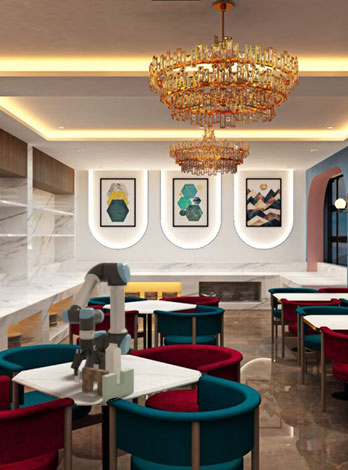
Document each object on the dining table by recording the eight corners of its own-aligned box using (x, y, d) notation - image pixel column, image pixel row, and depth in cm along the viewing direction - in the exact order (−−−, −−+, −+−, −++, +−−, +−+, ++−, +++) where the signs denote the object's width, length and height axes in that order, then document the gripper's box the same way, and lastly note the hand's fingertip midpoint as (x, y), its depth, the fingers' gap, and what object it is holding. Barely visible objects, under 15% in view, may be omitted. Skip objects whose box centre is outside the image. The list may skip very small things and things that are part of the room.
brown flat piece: (82, 391, 281) (82, 367, 281) (86, 389, 283) (86, 366, 283) (104, 396, 271) (104, 372, 272) (108, 394, 274) (108, 370, 274)
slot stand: (106, 401, 262) (106, 376, 262) (102, 400, 263) (102, 375, 264) (133, 392, 278) (133, 368, 278) (129, 391, 280) (129, 368, 280)
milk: (113, 382, 298) (113, 342, 299) (121, 384, 295) (121, 343, 295) (105, 384, 293) (105, 343, 294) (113, 386, 290) (113, 344, 290)
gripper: (74, 342, 269) (74, 385, 268) (108, 335, 289) (108, 375, 288) (63, 340, 273) (63, 383, 273) (98, 334, 293) (98, 373, 293)
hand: (86, 379), depth 281 cm, fingers open, 13 cm apart
